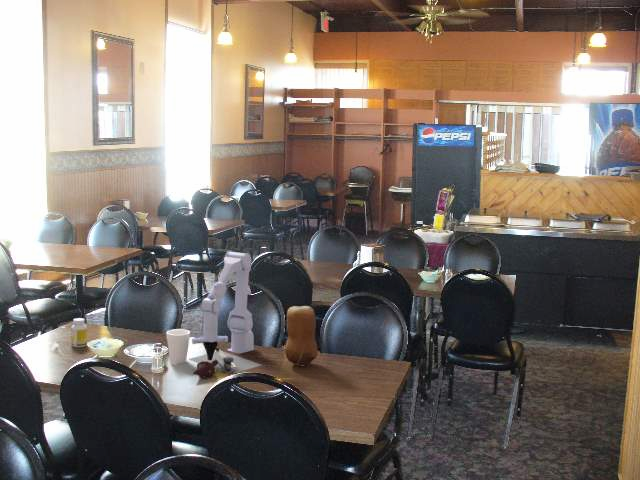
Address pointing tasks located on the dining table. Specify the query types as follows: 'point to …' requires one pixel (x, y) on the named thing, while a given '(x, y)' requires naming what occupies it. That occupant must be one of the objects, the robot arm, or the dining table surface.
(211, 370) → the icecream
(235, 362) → the board
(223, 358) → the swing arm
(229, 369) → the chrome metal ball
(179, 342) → the foam cup
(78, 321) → the pill bottle
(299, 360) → the butternut squash
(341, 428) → the dining table surface
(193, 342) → the robot arm
